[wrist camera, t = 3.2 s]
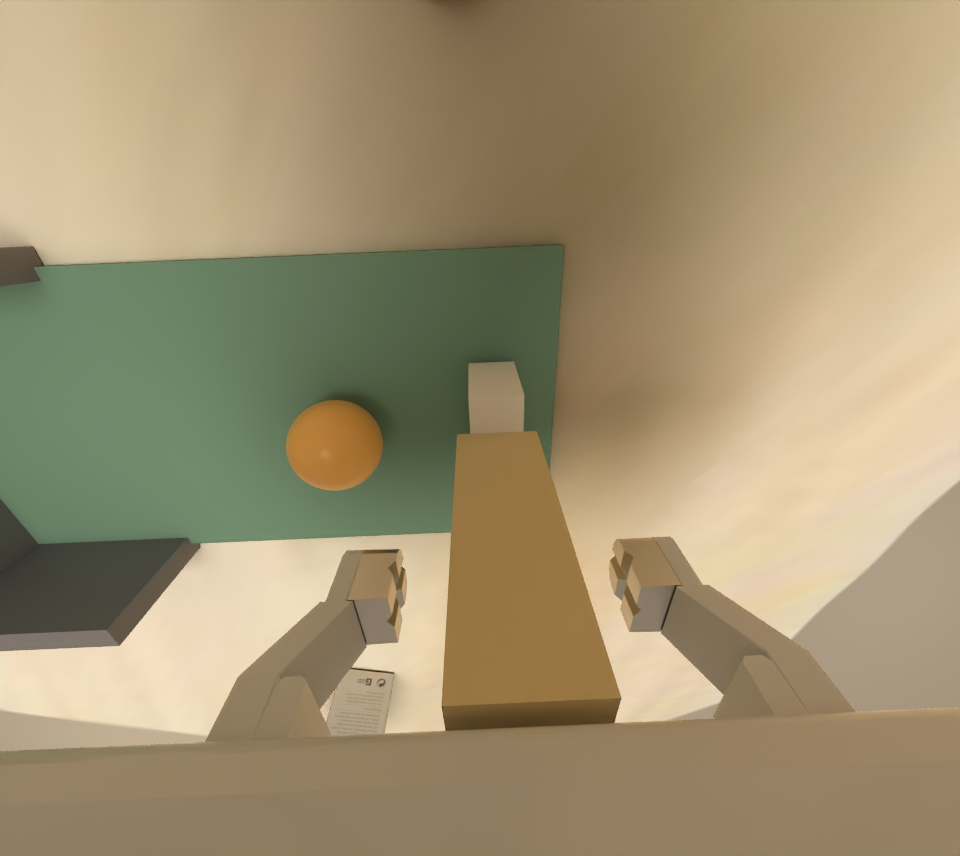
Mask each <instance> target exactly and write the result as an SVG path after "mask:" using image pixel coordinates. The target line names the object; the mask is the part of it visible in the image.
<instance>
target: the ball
mask: <svg viewBox="0 0 960 856" xmlns="http://www.w3.org/2000/svg"><path fill="white" fill-rule="evenodd" d="M382 452H383V437H382V433H381V430H380V427H379V425H378V423H377V422H376V420H375V419H374V418H373V416H372V415H371V414H370V413H369V412H368V411H366V410H365V409H364V408H362V407H361V406H359V405H357V404H354V403H352V402H348V401H343V400H327V401H323V402H319V403H316V404H314V405H312V406H310V407H308V408H307V409H305V410H304V411H303V412H302V413H300V414H299V415H298V417H297V418H296V419H295V420H294V422H293V423H292V425H291V427H290V429H289V432H288V435H287V439H286V453H287V457H288V461H289V463H290V465H291V467H292V469H293V470H294V472H295V473H296V474H297V475H298V476H299V477H300V478H301V479H302V480H303V481H305V482H306V483H308V484H309V485H311V486H313V487H316V488H319V489H323V490H329V491H339V490H345V489H349V488H352V487H354V486H356V485H358V484H360V483H362V482H363V481H365V480H366V479H367V478H368V477H369V476H370V475H371V474H372V473H373V472H374V471H375V469H376V468H377V466H378V464H379V462H380V459H381V456H382Z"/></svg>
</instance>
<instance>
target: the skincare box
mask: <svg viewBox="0 0 960 856" xmlns="http://www.w3.org/2000/svg"><path fill="white" fill-rule="evenodd" d="M393 681H394V675H393V674H390V673H382V672H373V671H363V670H355V669H350V670H349V671H348V672H347V674H346V675H345V676H344V678H343V679H342V680H341V682H340V683H339V684H338V686H337V687H336V691H335V694H334V698H333V701H332V705H331V708H330V712H329V715H328V719H327V722H326V724H327V726H328V728H329V730H330V732H331V736H346V735H367V734H385V728H386V722H387V716H388V710H389V704H390V698H391V693H392V687H393Z"/></svg>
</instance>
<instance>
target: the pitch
mask: <svg viewBox="0 0 960 856" xmlns="http://www.w3.org/2000/svg"><path fill="white" fill-rule="evenodd" d="M563 259H564V245H541V246H517V247H492V248H468V249H444V250H419V251H395V252H371V253H346V254H322V255H297V256H273V257H249V258H224V259H200V260H176V261H151V262H127V263H102V264H78V265H54V266H38V267H34V269H35V271H36V273H37V274H38V276H39V278H40V280H41V281H35V282H29V283H22V284H15V285H8V286H1V287H0V499H1V500H2V501H3V502H4V504H5V505H6V506H7V507H8V508H9V510H10V511H11V512H12V513H13V514H14V515H15V517H16V518H17V519H18V520H19V521H20V523H21V524H22V525H23V526H24V527H25V528H26V530H27V531H28V532H29V533H30V534H31V536H32V537H33V538H34V539H35V540H36V541H37V543H38V544H51V543H74V542H97V541H119V540H142V539H165V538H187V537H188V539H189V541H190V542H191V544H196V543H218V542H241V541H263V540H286V539H309V538H331V537H354V536H376V535H399V534H421V533H444V532H452V515H453V497H454V479H455V462H456V444H457V434H470V419H469V401H468V365H469V363H486V362H510V361H514V363H515V366H516V370H517V373H518V376H519V379H520V382H521V386H522V389H523V392H524V431H537V433H538V436H539V440H540V443H541V446H542V449H543V452H544V455H545V458H546V462H547V465H548V468H549V467H550V452H551V437H552V423H553V408H554V393H555V378H556V363H557V348H558V333H559V318H560V303H561V288H562V274H563ZM327 400H343V401H348V402H352V403H354V404H357V405H359V406H361V407H362V408H364V409H365V410H366V411H368V412H369V413H370V414H371V415H372V416H373V418H374V419H375V420H376V422H377V423H378V425H379V427H380V430H381V433H382V437H383V452H382V456H381V459H380V462H379V464H378V466H377V468H376V469H375V471H374V472H373V473H372V474H371V475H370V476H369V477H368V478H367V479H366V480H365V481H363V482H362V483H360V484H358V485H356V486H354V487H352V488H349V489H345V490H339V491H329V490H323V489H319V488H316V487H313V486H311V485H309V484H308V483H306V482H305V481H303V480H302V479H301V478H300V477H299V476H298V475H297V474H296V473H295V472H294V470H293V469H292V467H291V465H290V463H289V461H288V457H287V453H286V439H287V435H288V432H289V429H290V427H291V425H292V423H293V422H294V420H295V419H296V418H297V417H298V415H299V414H300V413H302V412H303V411H304V410H305V409H307V408H308V407H310V406H312V405H314V404H316V403H319V402H323V401H327Z"/></svg>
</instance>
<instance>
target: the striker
mask: <svg viewBox="0 0 960 856" xmlns="http://www.w3.org/2000/svg"><path fill="white" fill-rule="evenodd" d="M468 401H469V419H470V434H457V444H456V462H455V479H454V497H453V515H452V532H451V550H450V568H449V585H448V603H447V621H446V638H445V656H444V674H443V691H442V711H443V717H444V723H445V729H446V731H453V730H475V729H497V728H518V727H540V726H561V725H583V724H606V723H614V722H615V718H616V715H617V711H618V708H619V704H620V701H621V696H620V692H619V689H618V686H617V683H616V680H615V677H614V673H613V670H612V667H611V664H610V661H609V658H608V654H607V651H606V648H605V645H604V642H603V639H602V635H601V632H600V629H599V626H598V623H597V620H596V617H595V613H594V610H593V607H592V604H591V601H590V598H589V594H588V591H587V588H586V585H585V582H584V579H583V575H582V572H581V569H580V566H579V563H578V560H577V556H576V553H575V550H574V547H573V544H572V541H571V538H570V534H569V531H568V528H567V525H566V522H565V519H564V515H563V512H562V509H561V506H560V503H559V500H558V496H557V493H556V490H555V487H554V484H553V481H552V477H551V474H550V471H549V468H548V465H547V462H546V458H545V455H544V452H543V449H542V446H541V443H540V440H539V436H538V433H537V431H524V392H523V389H522V386H521V382H520V379H519V376H518V373H517V370H516V366H515V363H514V361H510V362H486V363H469V365H468Z"/></svg>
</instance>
